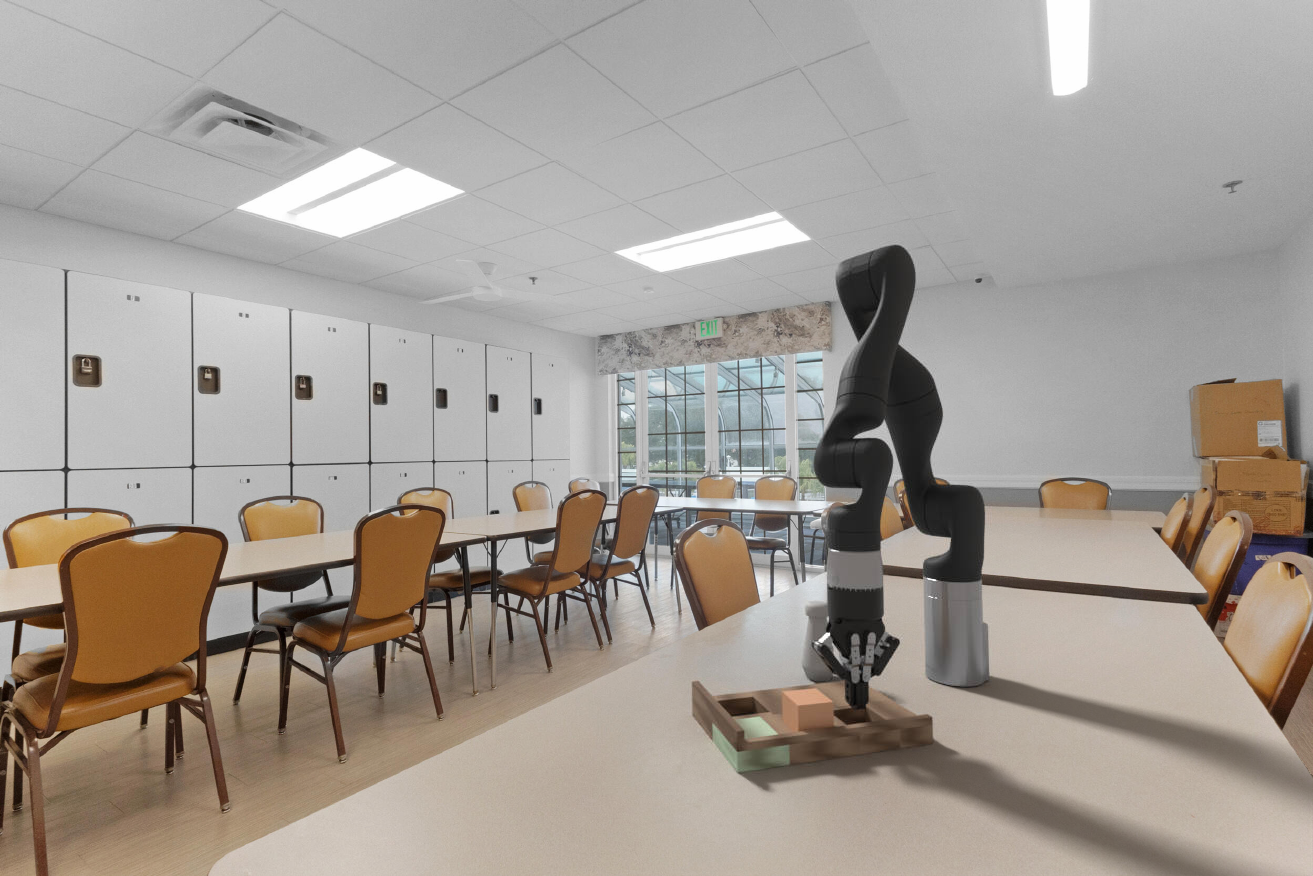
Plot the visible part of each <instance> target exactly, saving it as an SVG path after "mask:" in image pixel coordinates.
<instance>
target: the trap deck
mask: <svg viewBox="0 0 1313 876" xmlns="http://www.w3.org/2000/svg"><path fill="white" fill-rule="evenodd" d="M814 688H816V689H817V690H819V691H820V692H821V693H823V694H824V695H825V696H826V697H828V698H829V699H830V700H832V701H833V712H834V727H829V728H822V729H814V730H807V731H800V732H793V731H792V730H791V729H790V728H789V727H788V726H787V725H786V724H785V723H784V722H783V712H782V692H783V691H793V690H804V689H814ZM691 703H692V704H691V705H692V706H691V710H692V711H691V713H692V716H693V718H694V720H696V721H697V723H698V724H699V725H700V727H701V728H702V729H703V730H704V732H705V733H706V734H707V735H708V737H709V738H710V739H711V741H712V742H713V744H714V745H715V746H716V747H717V749H718V750H719V751H720V752H721V753H722V755H723V756H724V757H725V759H726V761H728V762H729V764H730V766H731V767H732V768H733V769H734V770H735V771H736V772H737V773H745V772H751V771H758V770H764V769H770V768H778V767H784V766H790V765H791V766H792V765H800V764H805V763H812V762H817V761H819V762H820V761H824V760H825V761H826V760H832V759H840V758H845V757H851V756H857V755H858V756H859V755H865V754H871V753H878V752H885V751H891V750H898V749H904V748H912V747H918V746H919V747H920V746H925V745H931V744H934V731H933V730H934V729H933V726H934V725H933V716H931V715H930V714H927V713H926V714H918V715H917V714H915V713H914V712H913V711H911V710H909V709H908V708H906V707H904V706H903V705H901V704H899V703H898V702H896V701H895V700H893V699H891V698H889V696H888V697H887V696H886V695H884V694H883V693H882V692H880V691H878V690H876V689H875V688H873V687H871V686H870V685H869V701H868V704H866V708H865V709H858V710H855V709H853V708H852V707H850V706H849V704H848V703H847V702H846V700H845V680H838V681H829V682H821V683H813V684H806V685H805V684H803V685H796V686H788V687H779V688H778V687H777V688H769V689H762V690H761V689H760V690H753V691H745V692H736V693H727V694H719V695H712V694H711V693H710V692H709V691H708V690H707V689H706V688H705V686H703V684H702V683H701V682H700V681H699V680H694V681H693V680H692V681H691Z"/></svg>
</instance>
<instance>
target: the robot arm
mask: <svg viewBox="0 0 1313 876" xmlns="http://www.w3.org/2000/svg"><path fill="white" fill-rule="evenodd" d="M916 275H917V274H916V267H915V263H914V260H913V259H912V256H911V255H910V253H909V251H908V250H907V249H906V248H905V247H904V246H902V245H900V244H891V245H886V246H883V247H879V248H876V249H874V250H870V251H868V252H865V253H862V254H858V255H856V256H853V257H850V258H847V259H844V260H843V261H841V262H839V264H838V265H837V267H836V271H835V285H836V291H837V295H838V298H839V300H840V304H841V306H842V308H843V311H844V313H845V315H846V317H847V320H848V322H849V325H850V327H851V330H852V331H853V333H854V337H855V338H856V341H857V343H856V346H855V347H854V348H853V349H852V351H851V352H850V354H849V355H848V357H847V359H846V361H845V363H844V365H843V367H842V370H841V373H840V376H839V382H838V388H837V394H836V400H835V407H834V410H833V413H832V414H831V417H830V419H829V422H828V424H827V426H826V428H825V430H824V432H823V433H822V436H821V437H820V439H819V441H818V444H817V446H816V449H815V452H814V456H813V470H814V475H815V477H816V478H817V481H818V482H819V483H820V484H821V485H822V486H824V487H826V488H833V489H861V494H860V496H859V497H858V499H857V501H856V502H853V503H849V504H842V505H837V506H834V507H832V508H831V509H830V510H829V511H828V514H827V515H828V516H827V540H828V541H827V543H828V545H827V546H828V551H827V552H828V553H827V558H826V559H827V560H826V601H827V602H826V603H827V611H828V620H827V622H828V624H827V626H826V634H825V635H824V636H823V637H822V638H821V639H820V640H819V641H818V640H814V641H813V642H812V644H811V645H812V647H813V649H814V650H815V651H816V653H817V654H818V655H819V657H820V658H821V659H822V660H823V662H824V663H825V664H826V666H827V667H828V668H829V670H830V671H831V672H832V673H833V676H834V675H835V676H837V677H838V678H839V679H841V681H845V700H846V702H847V703H848V704H849V706H850V707H852V708H853V709H855V710H858V709H865V708H866V704H868V701H869V686H870V685H869V683H870V680H871V679H872V678H873V677H875V676H877V677H880V676H881V675H882V673H883V672H884V670H885V669H886V666H887V665H888V663H889V662H890V660H891V659H892V657H893V655H894V654H895V653H896V651H897V649H898V647H899V646H900V644H901V641H900V638H897V637H895V636H894V635H892V634H890V633H888V631H886V626H885V624H884V622H883V621H884V620H883V617H884V614H885V608H884V607H885V604H884V603H885V602H884V600H885V599H884V597H885V596H884V590H885V589H884V563H883V557H882V550H881V549H882V545H881V544H882V543H881V540H882V539H881V520H882V513H883V507H884V503H885V498H886V494H887V490H888V487H889V484H890V481H891V478H892V474H893V468H894V456H893V453H892V449H891V448H890V446H889V444H887V443H886V441H884V440H883V439H881V438H877V437H856V436H858V435H860V434H862V433H863V434H864V433H866V432H870V431H873V430H876V429H878V428H880V426H881V425H883V423H885V425H886V428H887V431H888V432H889V436H890V440H891V442H892V445H893V449H894V452H895V456H896V458H897V461H898V464H899V469H900V473H901V476H902V477H901V478H902V482H903V486H904V487H903V488H904V491H905V496H906V502H907V505H908V510H909V513H910V516H911V519H912V521H913V524H914V526H915V528H916V529H917V530H918V531H919V532H920V533H922V534H923V535H927V536H930V537H938V538H939V537H940V538H946V539H948V538H949V539H950V543H949V548H948V550H946V552H944V553H942V554H939V555H934V556H930V557H928V558H926V559H924V561H923V563H922V578H923V581H922V582H923V583H922V584H923V586H922V587H923V619H924V620H923V621H924V622H923V623H924V624H923V625H924V628H923V629H924V660H925V662H924V666H925V667H924V668H925V673H924V674H925V676H926V677H927V678H928V679H929V680H932V681H933V682H937V683H940V684H944V685H948V686H954V687H966V688H967V687H976V686H980V685H983V684H984V683H985V682H988V681H990V677H991V676H990V647H989V645H990V644H989V625H988V624H987V623H986V622H984V612H983V606H984V605H983V579H982V578H983V577H982V576H983V575H982V574H983V571H982V570H983V566H984V560H985V530H986V527H985V526H986V509H985V501H984V498H983V495H982V493H981V492H980V490H979V489H978V488H977V487H975V486H973V485H969V484H950V483H949V484H947V483H946V484H945V483H943V484H942V483H941V484H940V483H938V482H937V481H936V478H935V476H934V472H933V469H932V468H933V467H932V463H931V457H932V453H933V452H932V451H933V449H934V446H935V443H936V442H937V438H938V436H939V433H940V429H941V427H942V423H943V420H944V411H943V406H942V402H941V398H940V395H939V392H938V388H937V385H936V382H935V379H934V377H933V375H932V374H931V372H930V371H929V370H928V368H927V367H926V366H925V365H924V364H923V363H922V362H920V361H919V360H918V358H916V357H915V356H914V355H913V354H912V353H910V352H909V351H908V350H906V349H905V348H904V347H903V346H901V345H900V344H899V343H900V341H901V338H902V335H903V331H904V328H905V326H906V322H907V318H908V315H909V312H910V308H911V305H912V302H913V299H914V296H915V289H916V282H917V281H916V280H917V278H916V277H917V276H916ZM855 437H856V438H855ZM833 645H834V646H833ZM834 647H835V648H836V649H837V651H838V658H839V660H838V659H837V657H836V656H835V654H833V653H834V652H835V650H834ZM832 652H833V653H832Z"/></svg>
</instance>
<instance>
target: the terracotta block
mask: <svg viewBox="0 0 1313 876" xmlns="http://www.w3.org/2000/svg"><path fill="white" fill-rule="evenodd" d="M782 712H783V722H784V723H785V724H786V725H787V726H788V727H789V728H790V729H791V730H792V731H793V732H800V731H807V730H814V729H822V728H829V727H834V712H833V701H832V700H830V699H829V698H828V697H826V696H825V695H824V694H823V693H821V692H820V691H819V690H817V689H816V688H814V689H804V690H793V691H783V692H782Z"/></svg>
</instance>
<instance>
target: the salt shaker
mask: <svg viewBox="0 0 1313 876" xmlns="http://www.w3.org/2000/svg"><path fill="white" fill-rule="evenodd" d="M804 613H805V616H806V617H808V619H807V627H806V632H805V641H804V646H803V650H802V651H803V652H802V658H801V666H802V670H803V671H804V675H805V676H806V678H807V679H808V680H811V681H813V682H827V681H830V680H832V678H833V676H834V674H833V673H832V672H831V671H830V670H829V668H828V667H827V666H826V664H825V663H824V662H823V660H822V659H821V658H820V657H819V655H818V654H817V653H816V651H815V650H814V649H813V647H812V645H811V644H812V642H813V641H814V640H818V641H819V640H820V639H821V638H822V637H823V636H824V635H825V634H826V626H827V624H828V618H829V616H828V611H827V602H825V601H822V600H811V601H808V602H806V603H805V606H804ZM832 653H833V654H834V651H833V652H832ZM834 655H835V654H834Z"/></svg>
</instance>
